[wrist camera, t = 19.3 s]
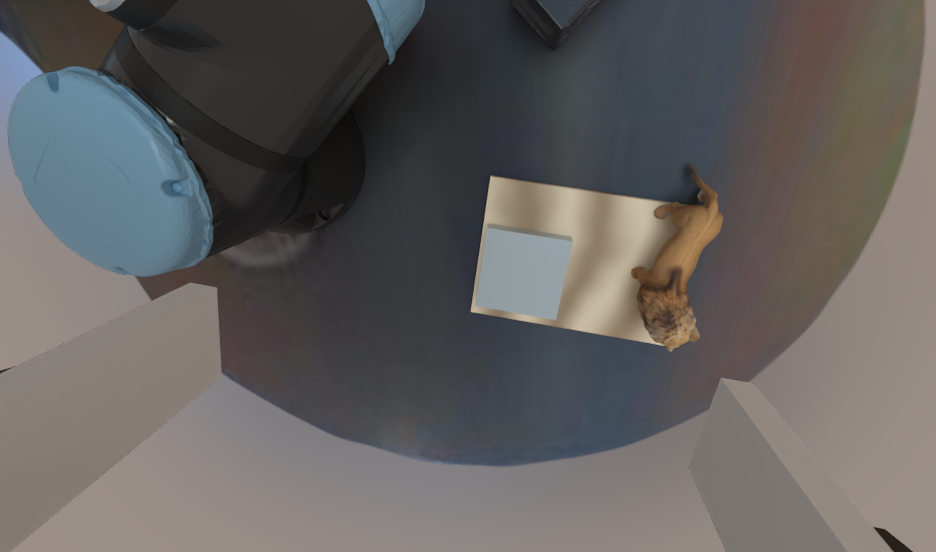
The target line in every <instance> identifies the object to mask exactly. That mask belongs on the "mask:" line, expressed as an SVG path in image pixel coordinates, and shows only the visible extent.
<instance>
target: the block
mask: <svg viewBox="0 0 936 552" xmlns="http://www.w3.org/2000/svg"><path fill="white" fill-rule="evenodd" d="M572 243H573V241H572V238H571V237H569V236H563V235H556V234H550V233H544V232H538V231H531V230H525V229H519V228H513V227H506V226H500V225H494V224H488V227H487V231H486V238H485V244H484V251H483V258H482V265H481V271H480V278H479V285H478V291H477V298H476V305H475V306H478V307H484V308H490V309H495V310H501V311H507V312H513V313H518V314H524V315H530V316H536V317H541V318H547V319H553V320H556V317H557V313H558V308H559V303H560V299H561V294H562V290H563V285H564V280H565V276H566V271H567V266H568V262H569V257H570V252H571V248H572Z"/></svg>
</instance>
